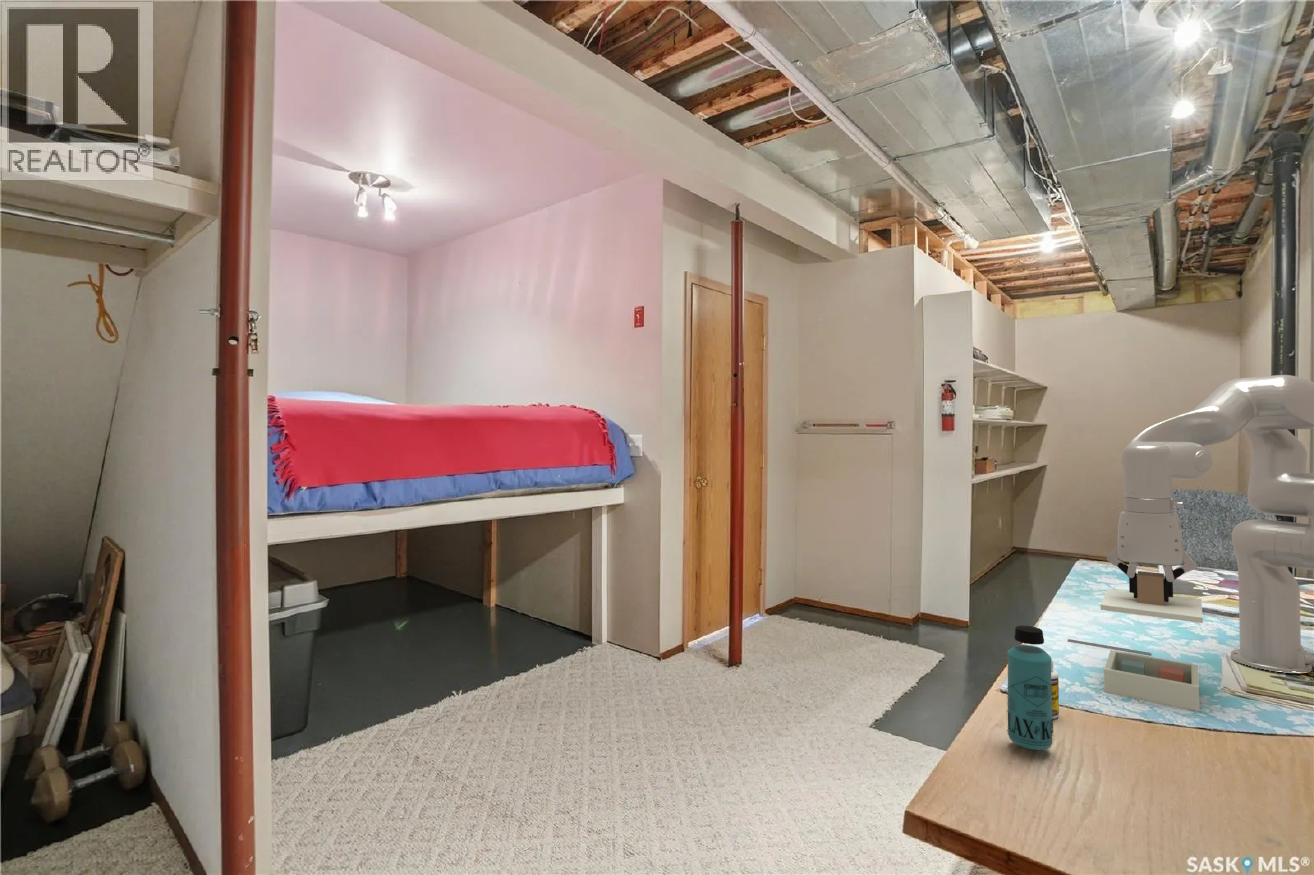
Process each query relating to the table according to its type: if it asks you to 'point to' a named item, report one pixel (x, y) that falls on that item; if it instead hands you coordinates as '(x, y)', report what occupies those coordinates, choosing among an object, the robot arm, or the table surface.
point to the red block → (1171, 674)
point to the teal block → (1133, 667)
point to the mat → (1109, 647)
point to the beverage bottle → (1029, 691)
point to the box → (1152, 681)
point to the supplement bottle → (1055, 692)
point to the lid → (1153, 601)
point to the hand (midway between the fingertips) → (1151, 597)
